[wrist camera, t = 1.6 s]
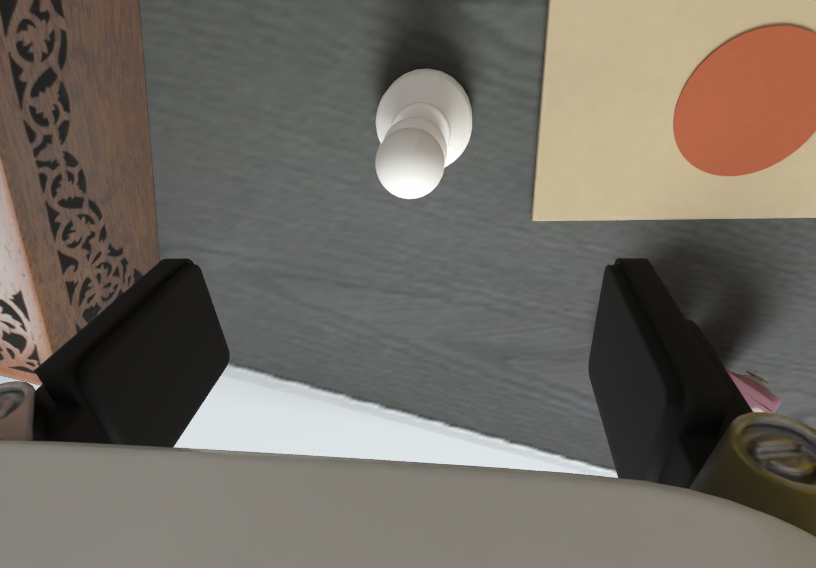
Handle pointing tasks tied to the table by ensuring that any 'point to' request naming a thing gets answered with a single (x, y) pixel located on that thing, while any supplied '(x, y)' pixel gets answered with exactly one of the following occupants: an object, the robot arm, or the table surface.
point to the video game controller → (756, 392)
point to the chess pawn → (420, 131)
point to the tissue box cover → (70, 171)
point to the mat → (677, 110)
